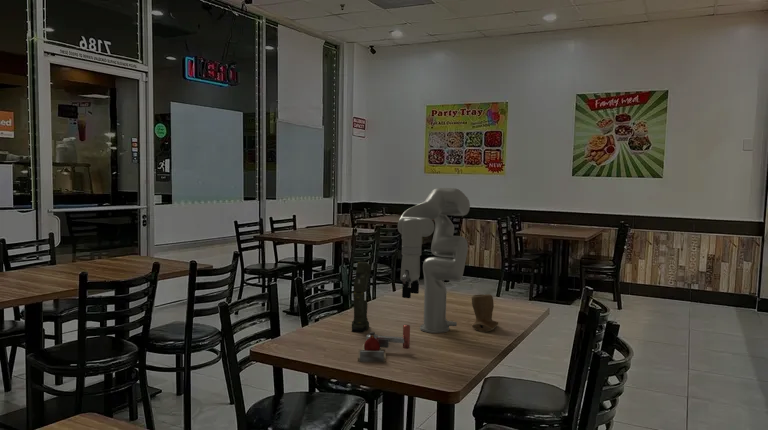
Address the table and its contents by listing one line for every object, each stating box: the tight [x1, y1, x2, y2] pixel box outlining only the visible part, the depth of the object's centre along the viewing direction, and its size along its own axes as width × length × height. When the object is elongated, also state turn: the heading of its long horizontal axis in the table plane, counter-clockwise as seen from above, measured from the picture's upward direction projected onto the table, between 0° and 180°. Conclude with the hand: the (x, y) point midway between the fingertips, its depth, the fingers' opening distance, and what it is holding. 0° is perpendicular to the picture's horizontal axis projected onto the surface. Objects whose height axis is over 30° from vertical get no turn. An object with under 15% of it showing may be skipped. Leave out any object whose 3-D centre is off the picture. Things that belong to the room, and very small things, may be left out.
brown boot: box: [471, 293, 499, 332], centre depth 251 cm, size 15×12×15 cm
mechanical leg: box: [351, 261, 372, 334], centre depth 246 cm, size 14×7×30 cm, turn 169°
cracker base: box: [357, 331, 387, 363], centre depth 211 cm, size 10×17×7 cm, turn 1°
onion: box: [363, 335, 380, 351], centre depth 208 cm, size 6×6×8 cm
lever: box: [365, 324, 411, 350], centre depth 214 cm, size 16×4×8 cm, turn 81°
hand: (410, 295), depth 218 cm, fingers open, 9 cm apart
